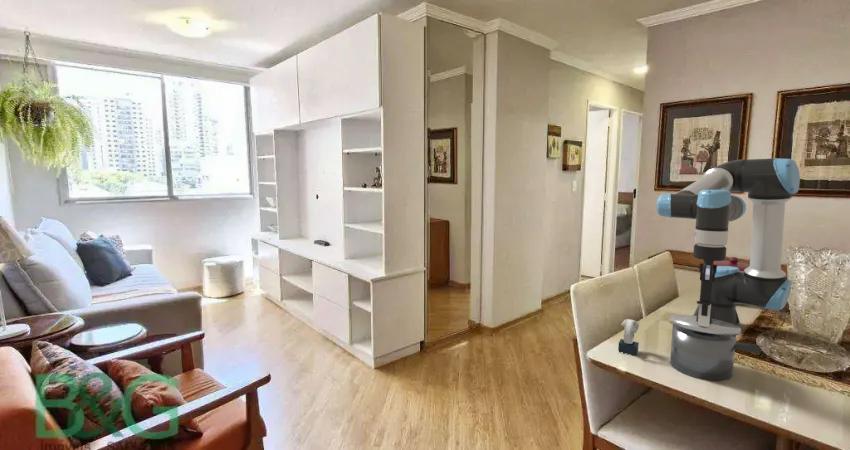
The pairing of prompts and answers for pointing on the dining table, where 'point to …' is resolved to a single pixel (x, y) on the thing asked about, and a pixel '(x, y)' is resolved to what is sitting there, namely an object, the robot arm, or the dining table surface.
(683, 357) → the cooker pot
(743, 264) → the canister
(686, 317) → the lid
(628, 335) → the watch
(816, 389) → the dining table surface
